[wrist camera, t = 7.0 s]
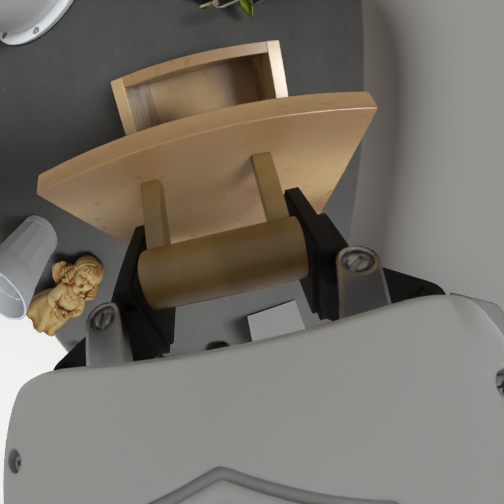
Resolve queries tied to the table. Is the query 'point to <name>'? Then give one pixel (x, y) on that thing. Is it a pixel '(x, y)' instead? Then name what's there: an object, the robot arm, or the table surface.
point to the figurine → (65, 294)
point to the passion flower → (245, 3)
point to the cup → (24, 264)
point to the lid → (216, 191)
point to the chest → (200, 84)
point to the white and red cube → (275, 321)
